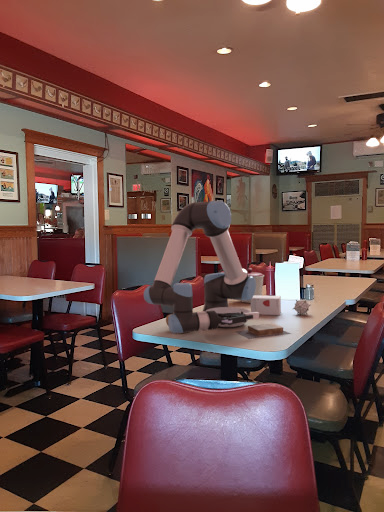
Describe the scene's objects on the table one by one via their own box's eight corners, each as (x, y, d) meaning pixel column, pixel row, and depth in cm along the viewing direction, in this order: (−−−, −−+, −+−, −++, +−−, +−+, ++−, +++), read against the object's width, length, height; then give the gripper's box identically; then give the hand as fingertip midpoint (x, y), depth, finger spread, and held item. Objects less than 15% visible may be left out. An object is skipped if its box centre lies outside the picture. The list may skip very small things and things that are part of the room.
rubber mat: (248, 339, 164) (248, 338, 164) (234, 332, 176) (234, 331, 176) (291, 334, 171) (291, 333, 171) (274, 328, 183) (274, 327, 183)
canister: (252, 305, 241) (251, 269, 240) (229, 302, 254) (228, 268, 253) (270, 301, 253) (270, 267, 252) (248, 298, 266) (247, 266, 265)
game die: (298, 322, 211) (287, 307, 210) (302, 313, 218) (290, 299, 217) (313, 315, 205) (301, 300, 205) (316, 306, 212) (304, 291, 212)
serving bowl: (214, 332, 177) (214, 317, 176) (200, 322, 197) (199, 308, 196) (258, 328, 182) (258, 313, 182) (240, 319, 203) (239, 305, 202)
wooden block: (258, 330, 168) (283, 327, 172) (247, 325, 176) (272, 323, 180) (258, 336, 168) (283, 333, 172) (247, 331, 176) (272, 328, 180)
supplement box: (250, 297, 214) (279, 298, 209) (252, 295, 222) (280, 295, 218) (250, 314, 214) (279, 315, 210) (253, 311, 223) (281, 312, 218)
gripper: (200, 326, 171) (251, 321, 178) (212, 333, 158) (266, 327, 166) (200, 308, 170) (250, 304, 178) (212, 314, 158) (266, 309, 166)
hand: (258, 315), depth 172 cm, fingers closed
